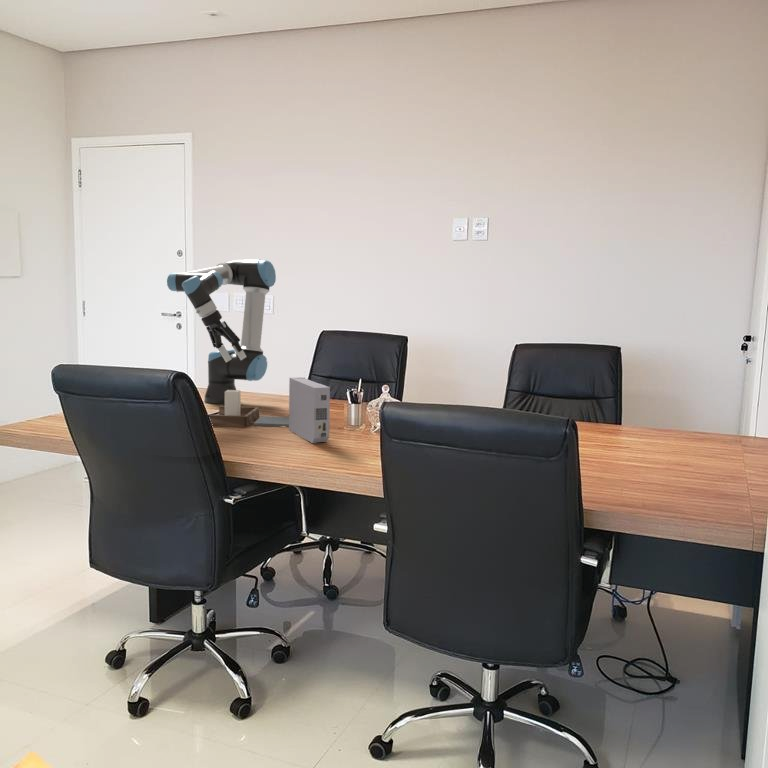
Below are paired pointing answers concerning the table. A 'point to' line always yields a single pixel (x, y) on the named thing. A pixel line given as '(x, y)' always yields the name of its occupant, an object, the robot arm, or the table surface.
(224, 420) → the brown wooden tray
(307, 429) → the game console
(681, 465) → the table surface
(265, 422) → the mat
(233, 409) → the cream block
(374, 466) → the table surface
